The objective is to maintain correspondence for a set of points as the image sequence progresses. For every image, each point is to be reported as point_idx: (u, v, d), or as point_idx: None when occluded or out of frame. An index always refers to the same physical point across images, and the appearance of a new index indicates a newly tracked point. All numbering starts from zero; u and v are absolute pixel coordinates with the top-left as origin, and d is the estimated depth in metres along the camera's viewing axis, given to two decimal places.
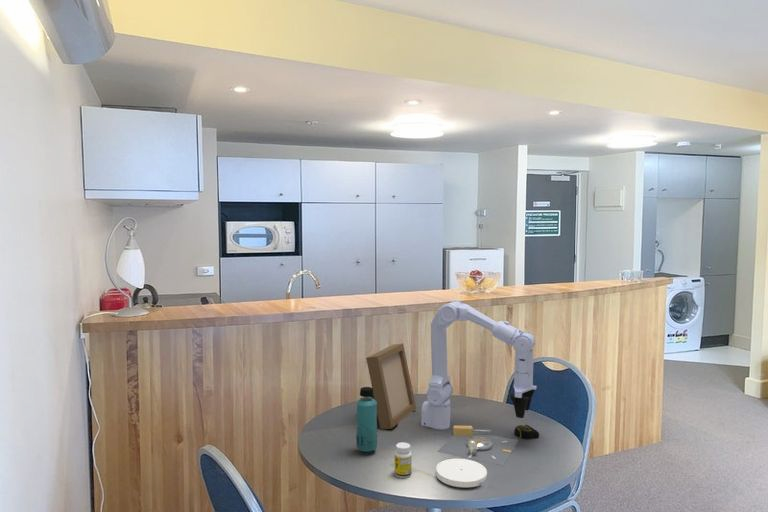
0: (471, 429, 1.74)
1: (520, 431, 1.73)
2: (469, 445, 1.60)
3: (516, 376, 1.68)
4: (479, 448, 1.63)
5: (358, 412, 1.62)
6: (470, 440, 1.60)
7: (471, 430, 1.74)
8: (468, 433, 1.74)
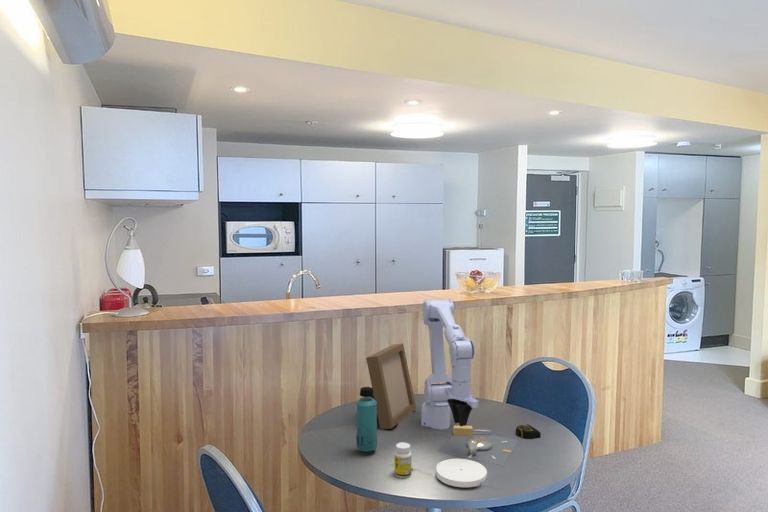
0: (471, 429, 1.74)
1: (521, 431, 1.73)
2: (469, 445, 1.60)
3: None
4: (479, 448, 1.63)
5: (358, 412, 1.62)
6: (470, 440, 1.60)
7: (471, 430, 1.74)
8: (468, 433, 1.74)
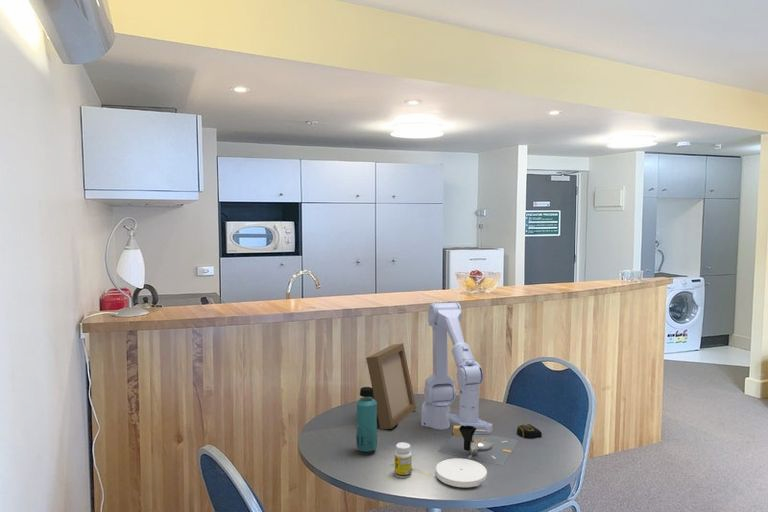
0: None
1: (523, 431, 1.73)
2: (470, 445, 1.59)
3: None
4: (480, 448, 1.63)
5: (358, 412, 1.62)
6: (471, 440, 1.60)
7: None
8: None
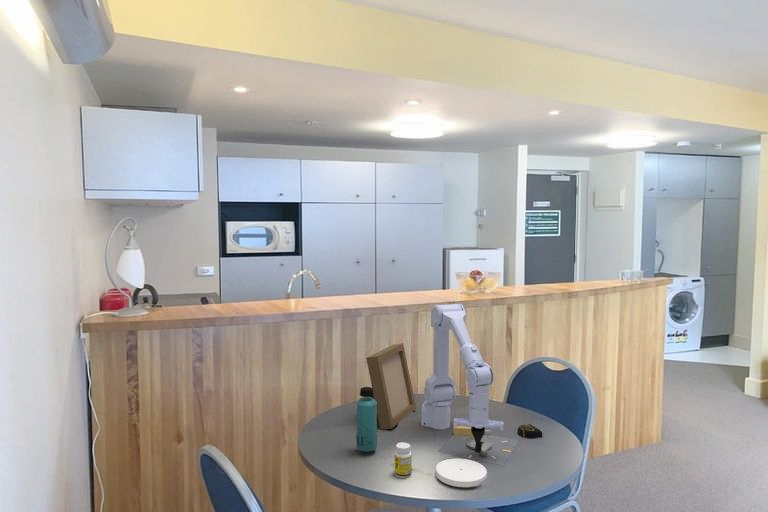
0: None
1: (523, 430, 1.74)
2: (482, 447, 1.59)
3: None
4: None
5: (358, 412, 1.62)
6: (481, 442, 1.59)
7: None
8: (468, 433, 1.74)
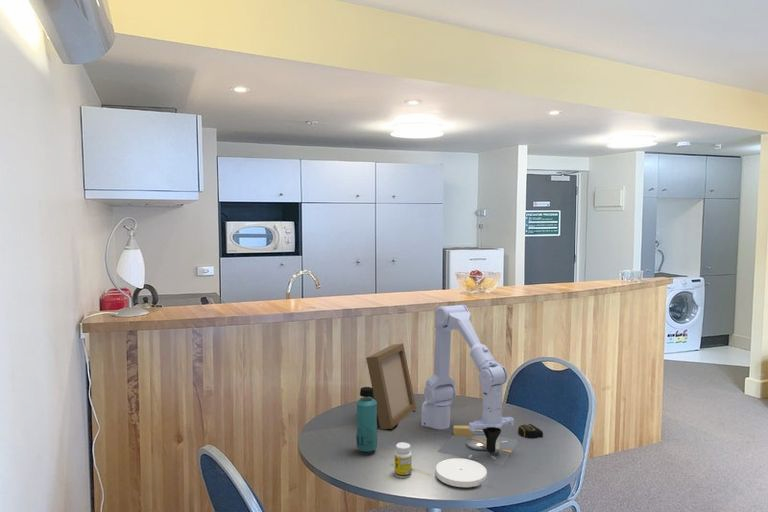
0: None
1: (524, 430, 1.74)
2: (496, 445, 1.59)
3: (482, 409, 1.60)
4: None
5: (358, 412, 1.62)
6: None
7: None
8: (468, 433, 1.74)
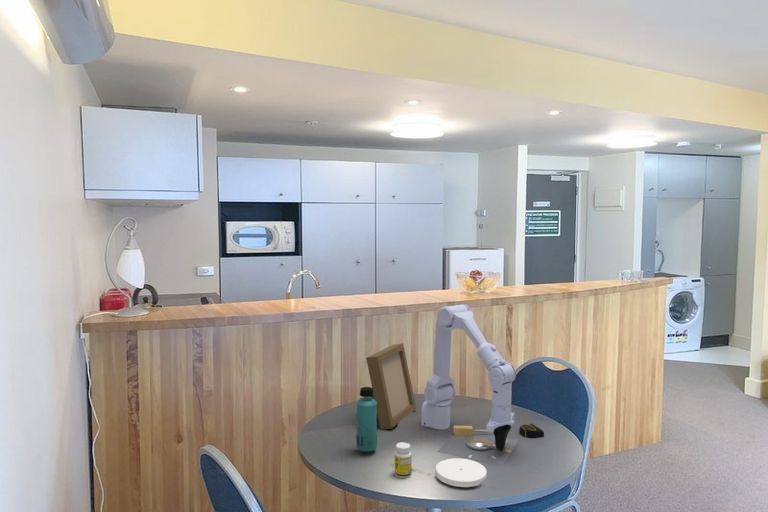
0: (471, 429, 1.74)
1: (525, 430, 1.74)
2: None
3: (492, 409, 1.61)
4: None
5: (358, 412, 1.62)
6: None
7: (471, 430, 1.74)
8: (468, 433, 1.74)
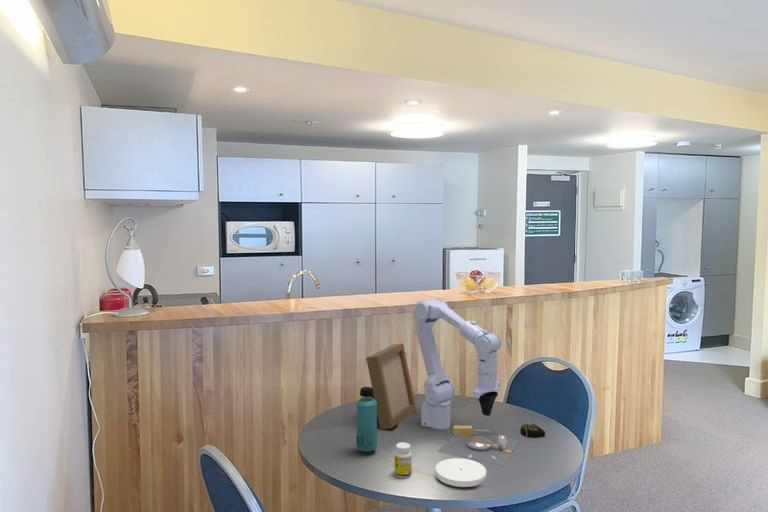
0: (471, 429, 1.74)
1: (526, 430, 1.74)
2: (504, 441, 1.63)
3: (478, 377, 1.68)
4: None
5: (358, 412, 1.62)
6: (502, 436, 1.63)
7: (471, 430, 1.74)
8: (468, 433, 1.74)
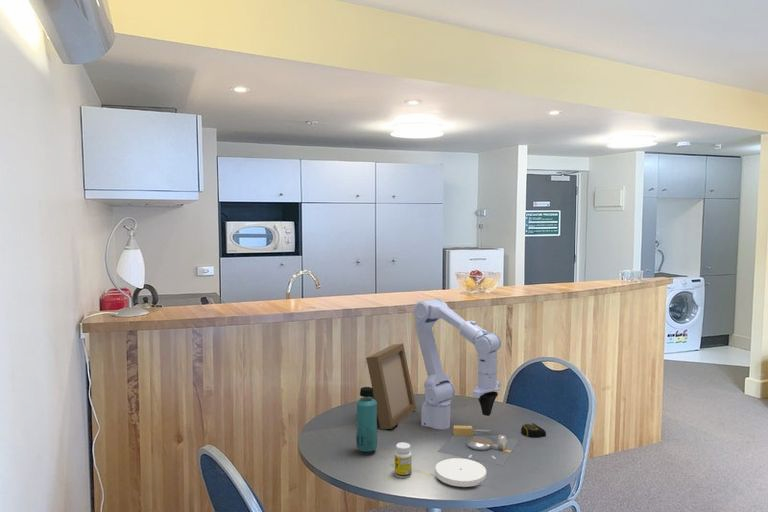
0: (471, 429, 1.74)
1: (527, 430, 1.74)
2: (504, 441, 1.63)
3: (478, 377, 1.68)
4: None
5: (358, 412, 1.62)
6: (502, 436, 1.63)
7: (471, 430, 1.74)
8: (468, 433, 1.74)
